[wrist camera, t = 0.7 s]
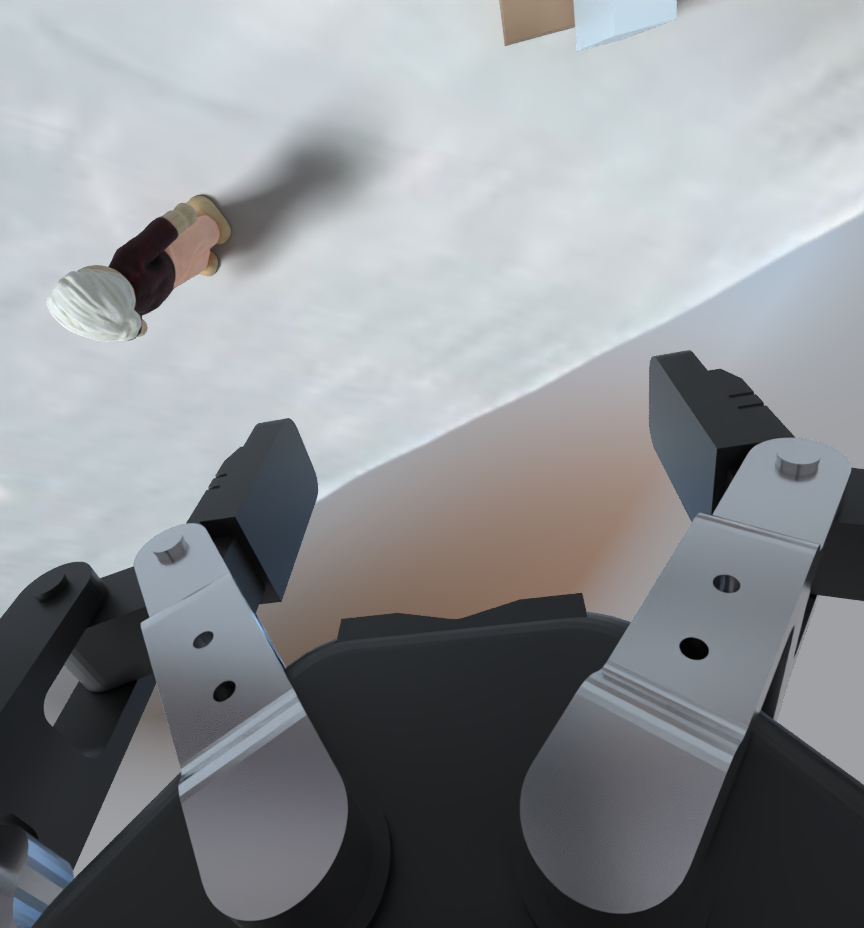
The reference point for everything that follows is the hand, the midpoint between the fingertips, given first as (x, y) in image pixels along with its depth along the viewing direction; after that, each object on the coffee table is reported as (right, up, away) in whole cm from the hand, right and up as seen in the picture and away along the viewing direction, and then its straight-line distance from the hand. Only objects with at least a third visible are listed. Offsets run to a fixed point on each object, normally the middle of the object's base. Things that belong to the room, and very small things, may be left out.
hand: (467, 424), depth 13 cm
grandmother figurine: (-15, +12, +21) cm, 28 cm away
